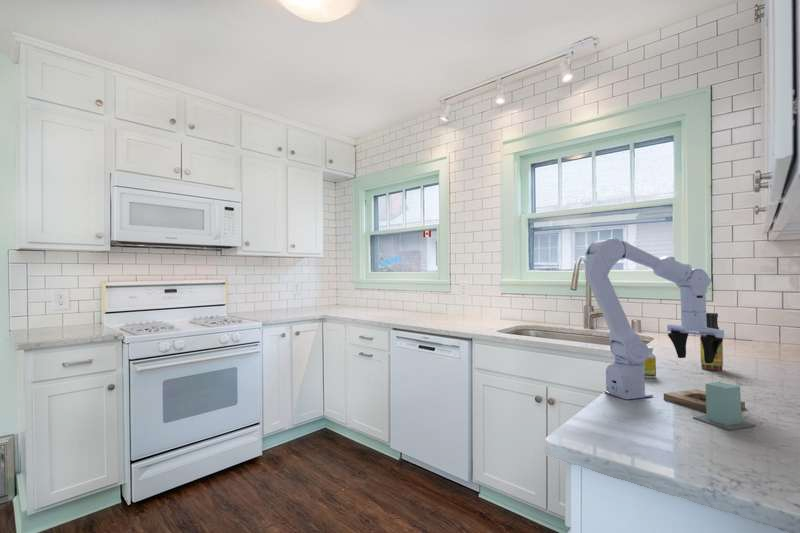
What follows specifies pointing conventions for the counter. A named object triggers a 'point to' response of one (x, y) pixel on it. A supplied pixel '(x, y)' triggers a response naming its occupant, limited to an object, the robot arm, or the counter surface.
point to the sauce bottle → (718, 359)
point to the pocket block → (691, 399)
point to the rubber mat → (728, 427)
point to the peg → (723, 403)
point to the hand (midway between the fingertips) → (695, 360)
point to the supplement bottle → (650, 365)
